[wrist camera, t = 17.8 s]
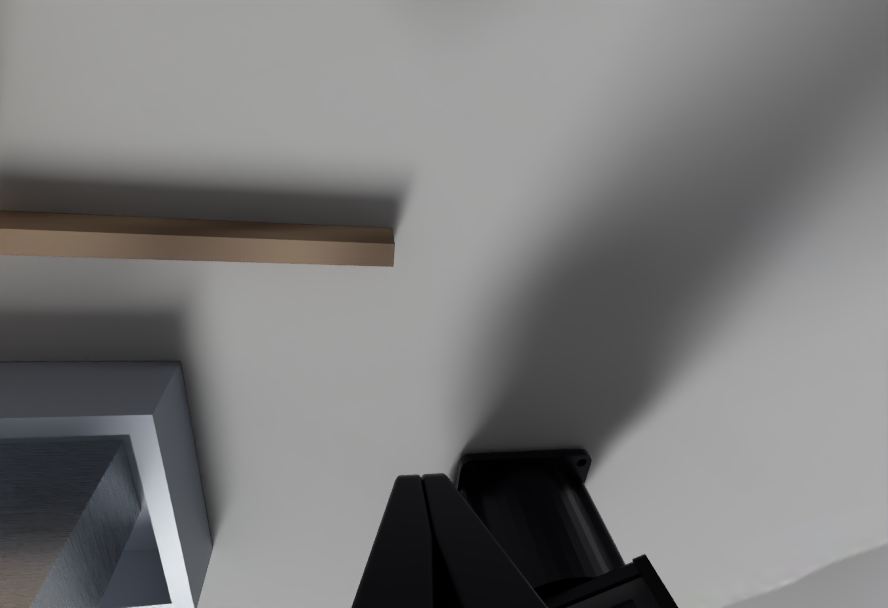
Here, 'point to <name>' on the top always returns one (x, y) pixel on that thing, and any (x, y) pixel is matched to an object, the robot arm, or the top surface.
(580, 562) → the robot arm
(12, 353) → the top surface
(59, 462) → the block
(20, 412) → the tray
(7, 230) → the bar
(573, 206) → the top surface
